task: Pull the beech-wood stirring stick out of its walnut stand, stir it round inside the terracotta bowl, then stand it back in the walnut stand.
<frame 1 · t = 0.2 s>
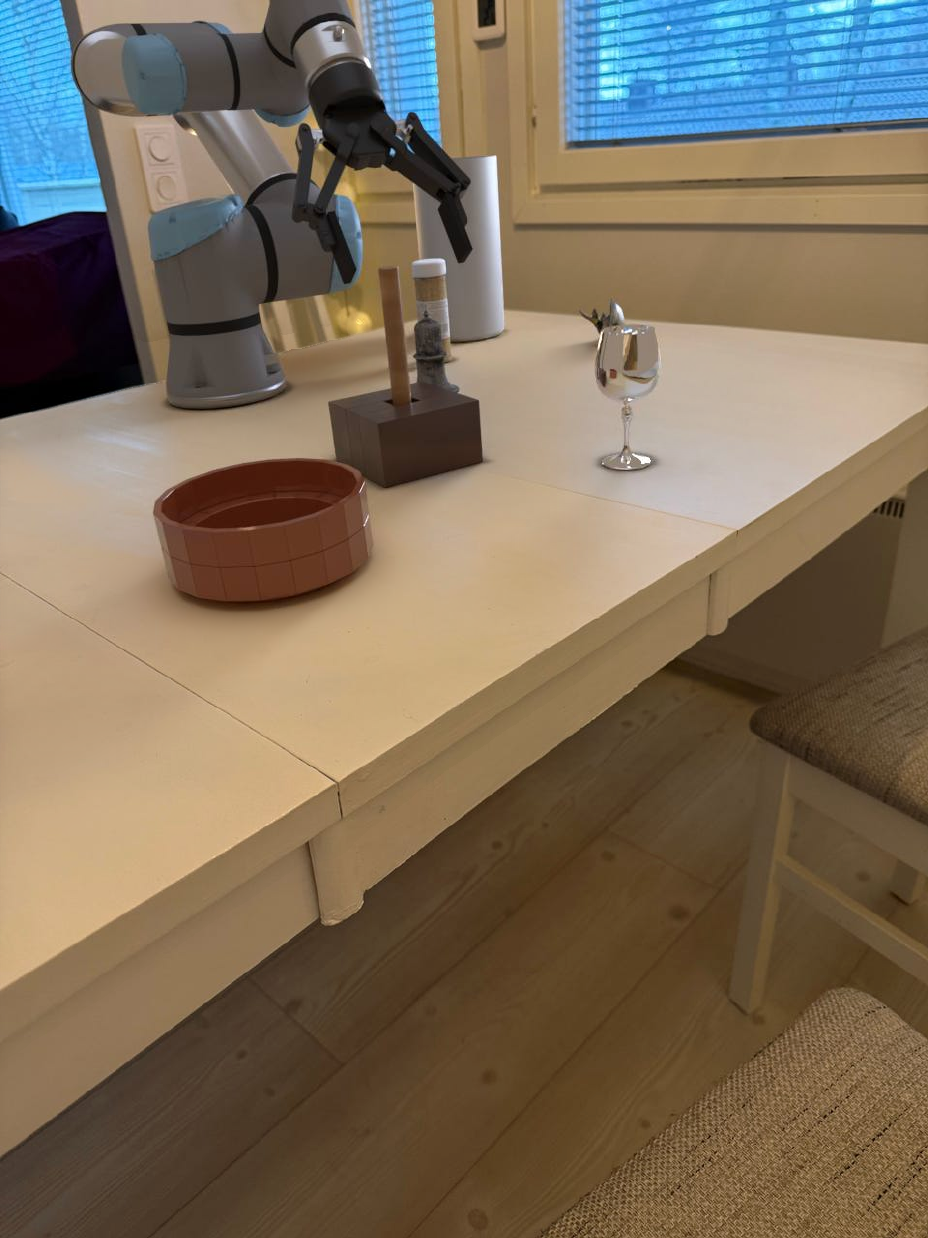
hand: (409, 266, 96), 16 cm above the table, tool tilted 35°, fingers open, 13 cm apart
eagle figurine: (612, 345, 131), on the table
cylinder vase: (465, 335, 145), on the table
stick stand: (408, 461, 90), on the table
bowl: (274, 565, 70), on the table
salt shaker: (435, 423, 102), on the table
sprinkles bottle: (436, 362, 129), on the table
stirring stick: (398, 368, 86), in the stick stand
wineglass: (626, 464, 85), on the table
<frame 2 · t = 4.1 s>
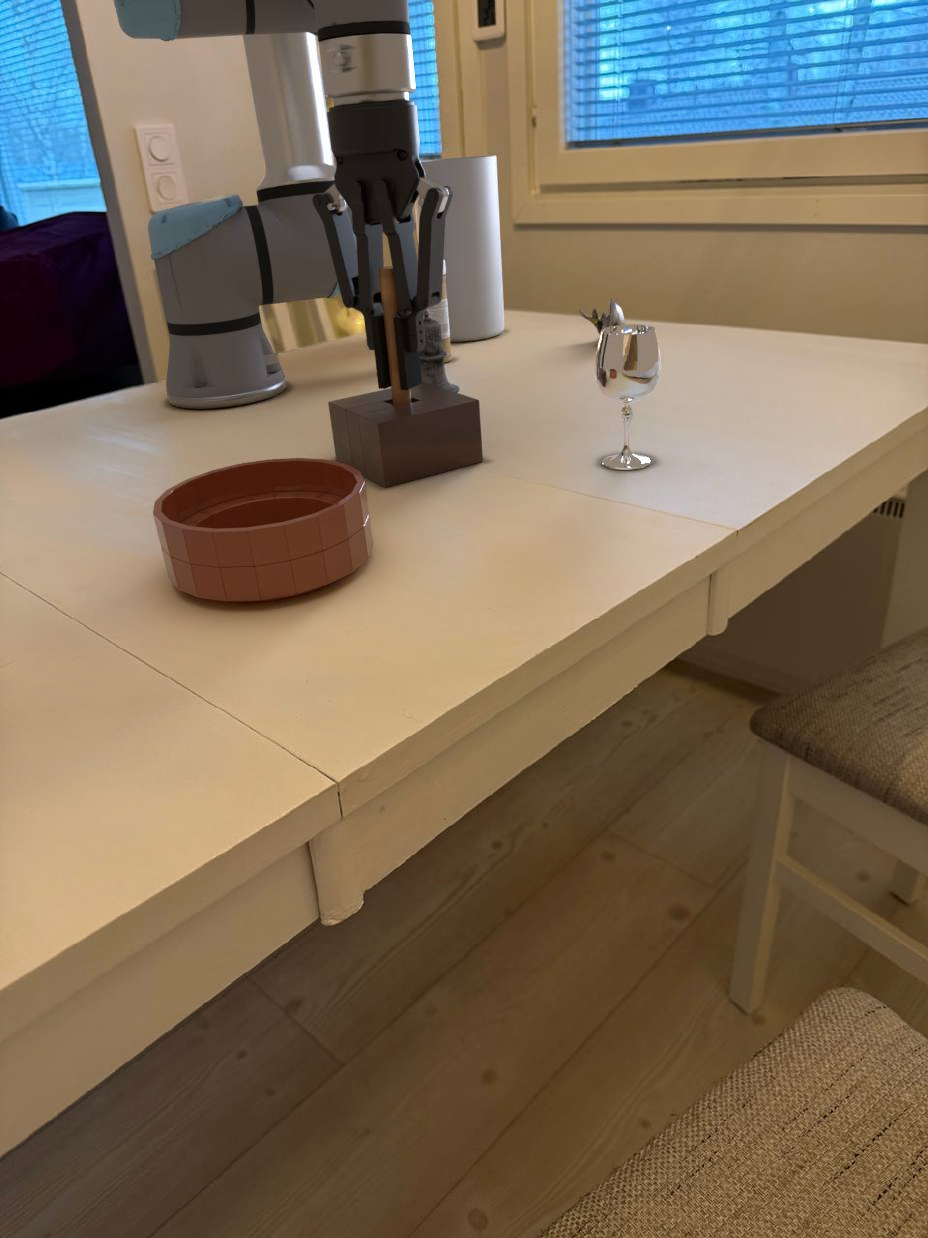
hand: (400, 385, 87), 7 cm above the table, tool pointing down, fingers closed on stirring stick, 2 cm apart
stirring stick: (398, 368, 86), in the stick stand, touching gripper
everything else where it was.
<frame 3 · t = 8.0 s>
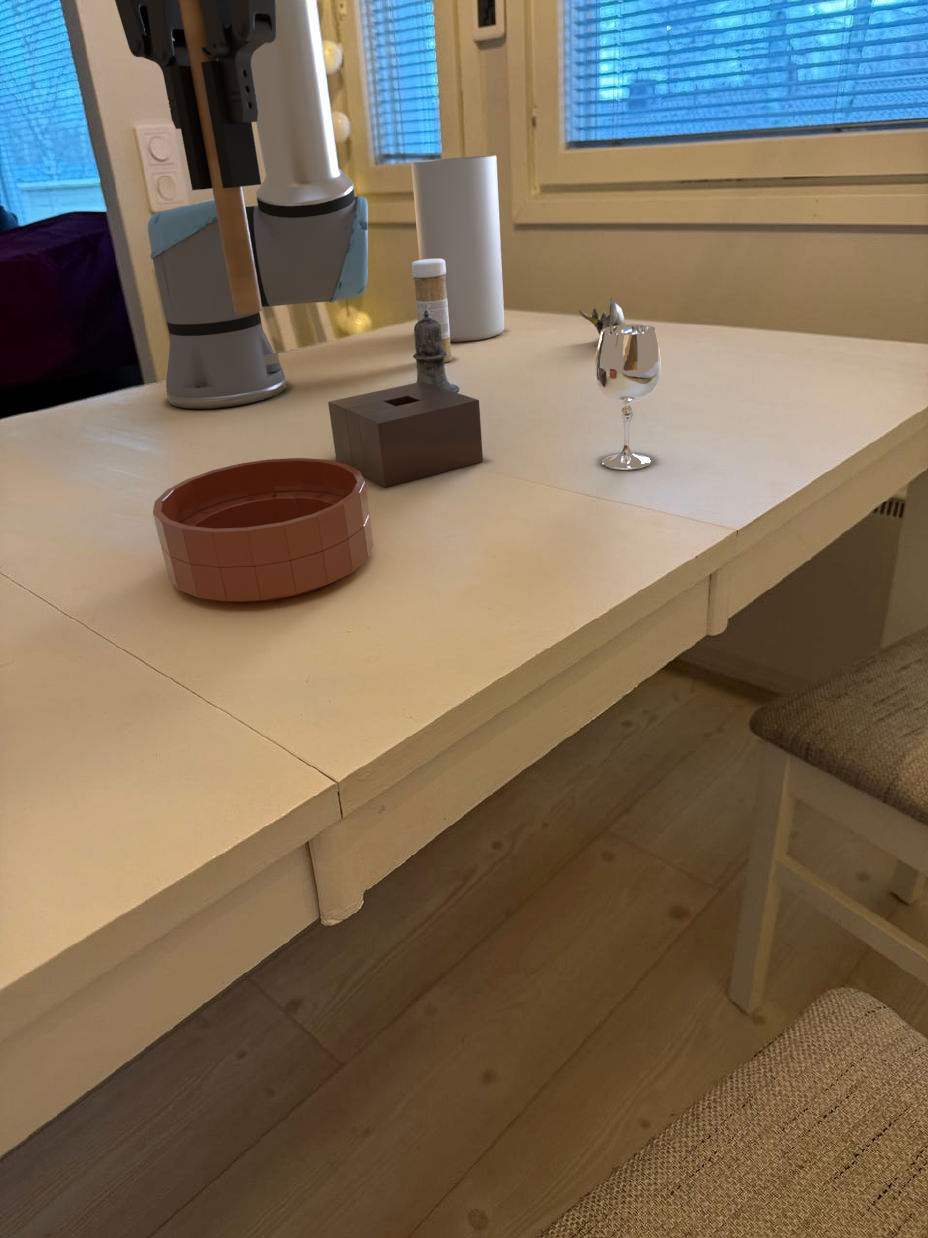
hand: (226, 186, 56), 26 cm above the table, tool pointing down, fingers closed on stirring stick, 2 cm apart
stirring stick: (222, 158, 56), point 28 cm above the table, touching gripper
everything else where it was.
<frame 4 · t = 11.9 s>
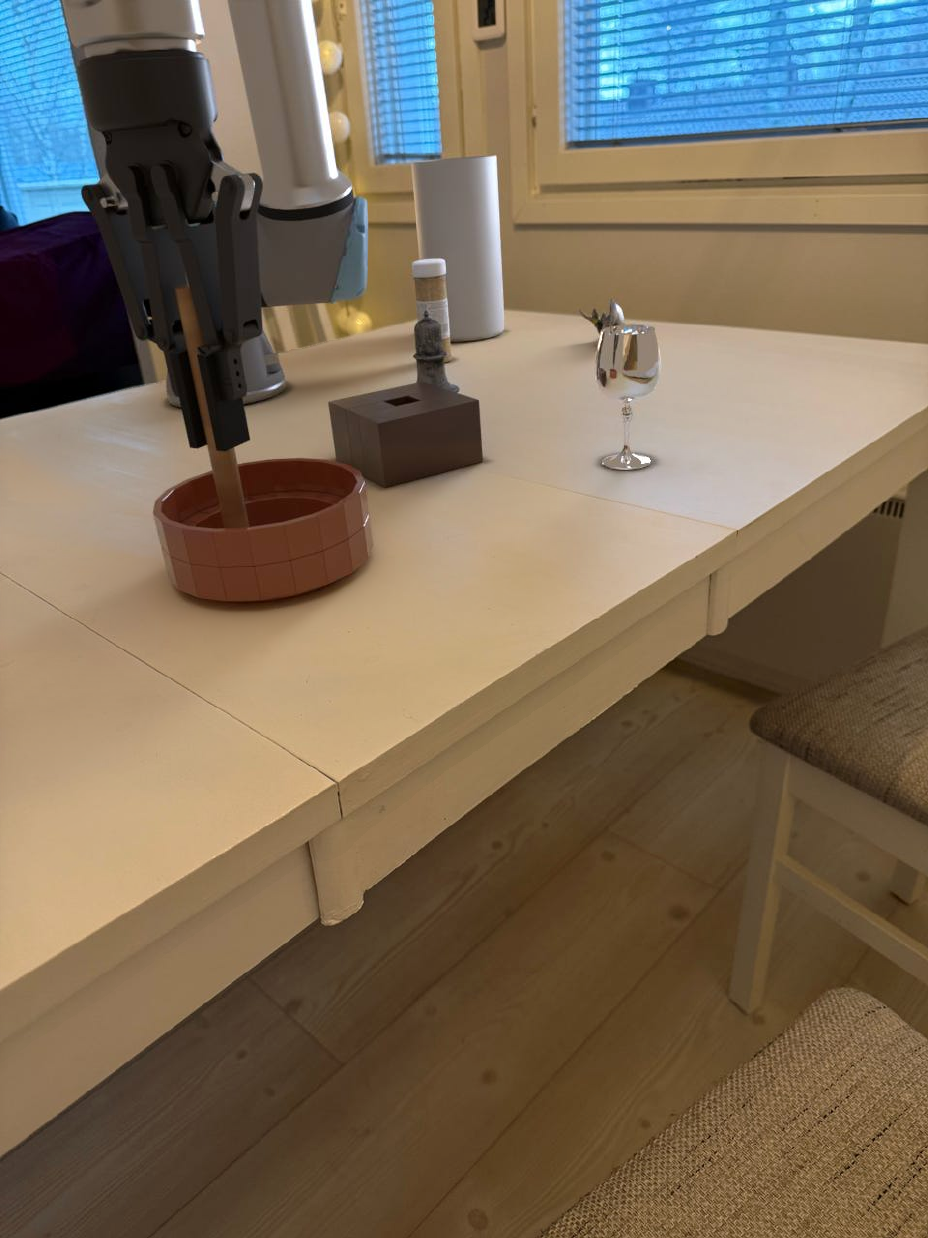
hand: (220, 443, 64), 10 cm above the table, tool pointing down, fingers closed on stirring stick, 2 cm apart
stirring stick: (215, 421, 64), point 12 cm above the table, touching gripper
everything else where it was.
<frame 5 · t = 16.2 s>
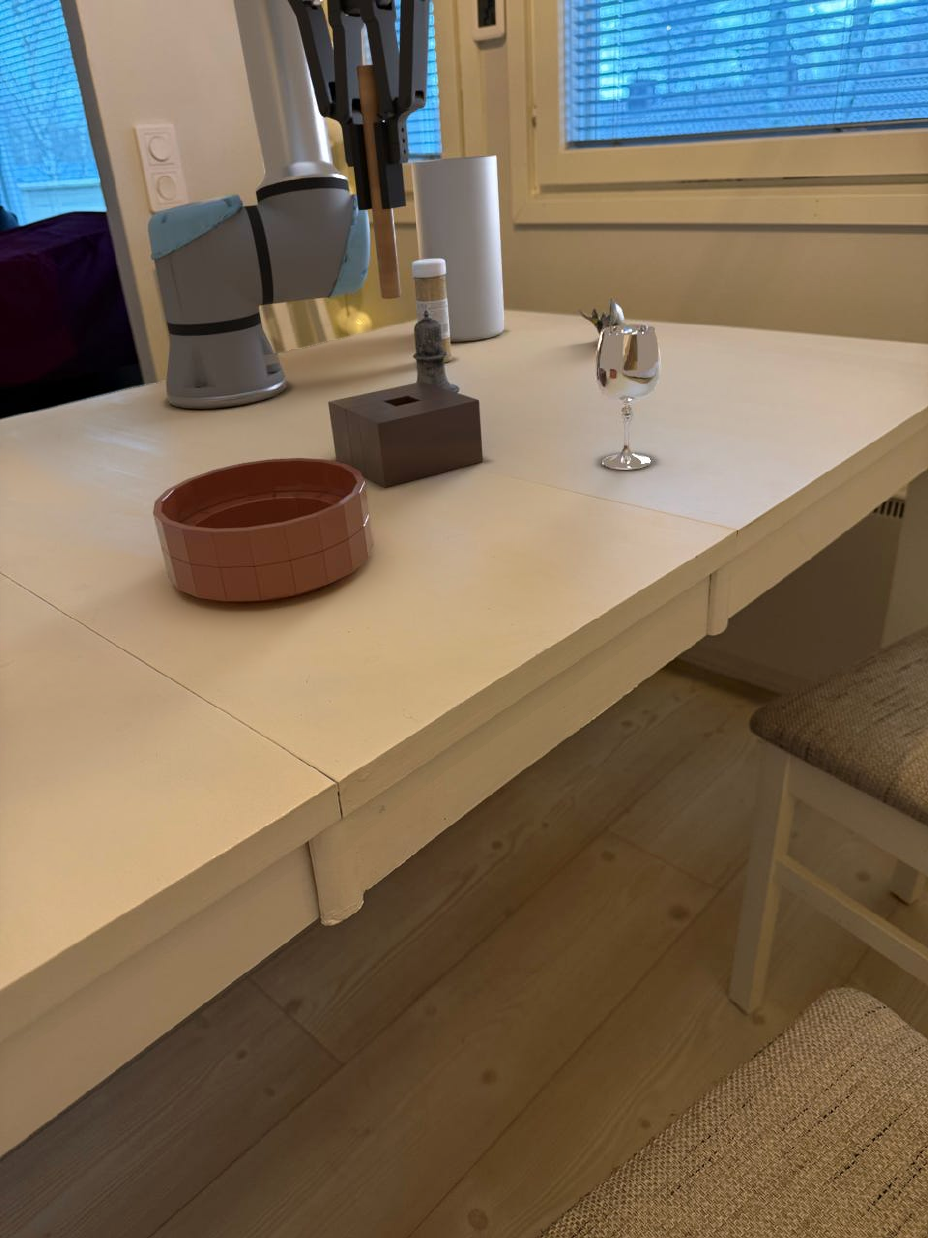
hand: (382, 207, 79), 23 cm above the table, tool pointing down, fingers closed on stirring stick, 2 cm apart
stirring stick: (380, 187, 78), point 24 cm above the table, touching gripper
everything else where it was.
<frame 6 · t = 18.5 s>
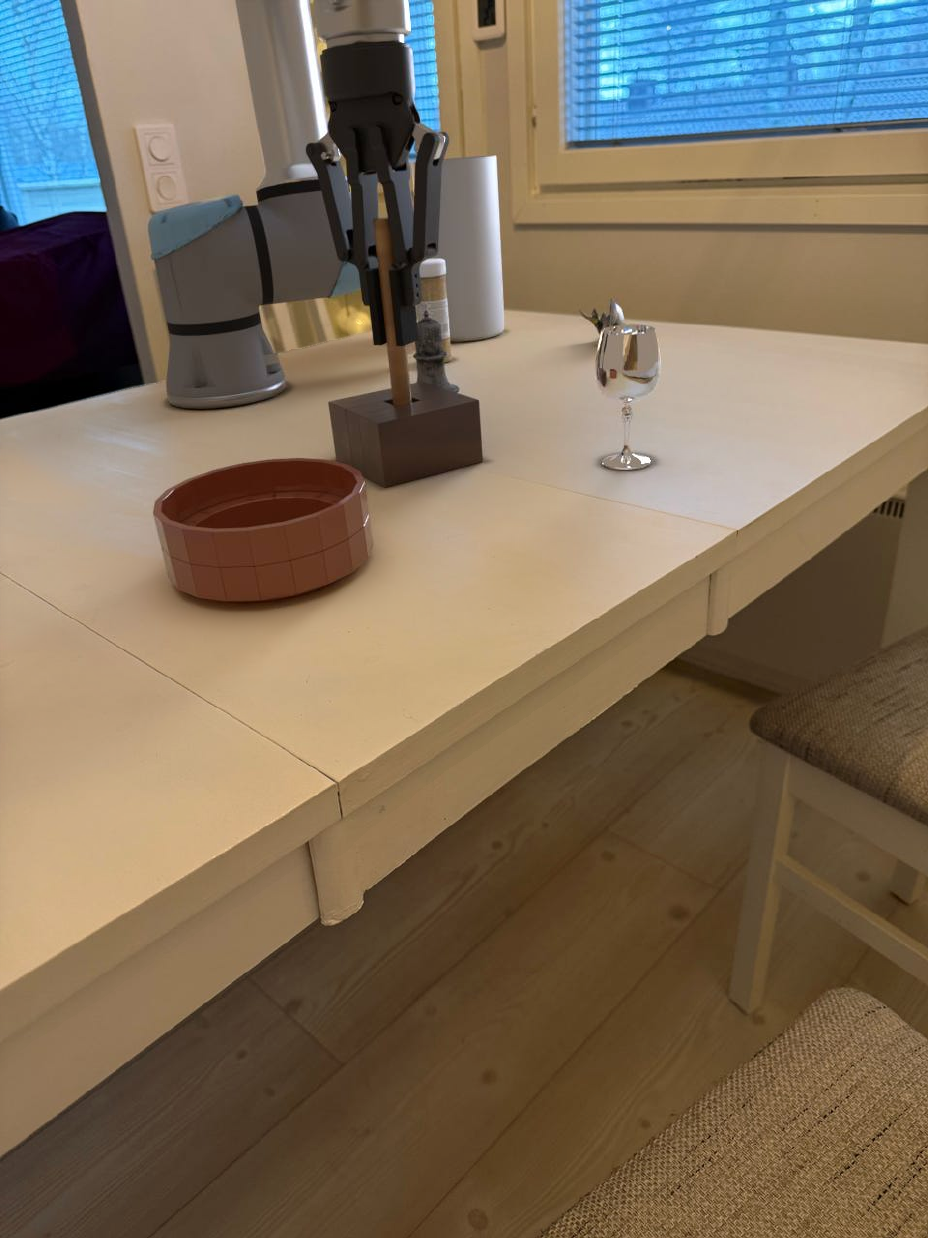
hand: (396, 342, 85), 11 cm above the table, tool pointing down, fingers closed on stirring stick, 2 cm apart
stirring stick: (394, 324, 84), point 13 cm above the table, touching gripper
everything else where it was.
when the fingers open (7 cm above the table, at t = 19.7 s): stirring stick stays where it is, resting in stick stand.
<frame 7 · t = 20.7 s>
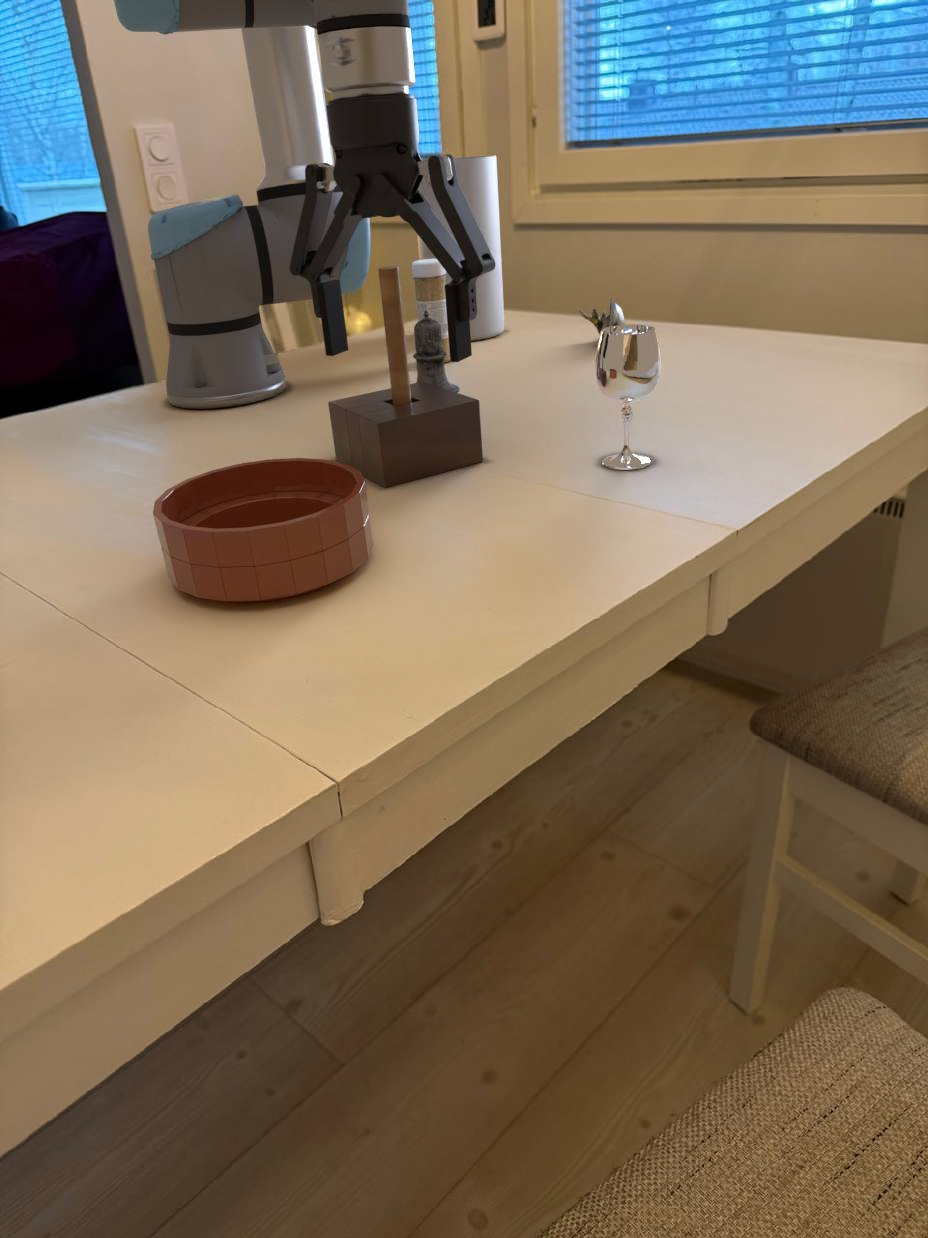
hand: (397, 356, 85), 10 cm above the table, tool pointing down, fingers open, 13 cm apart
stirring stick: (398, 369, 86), in the stick stand
everything else where it was.
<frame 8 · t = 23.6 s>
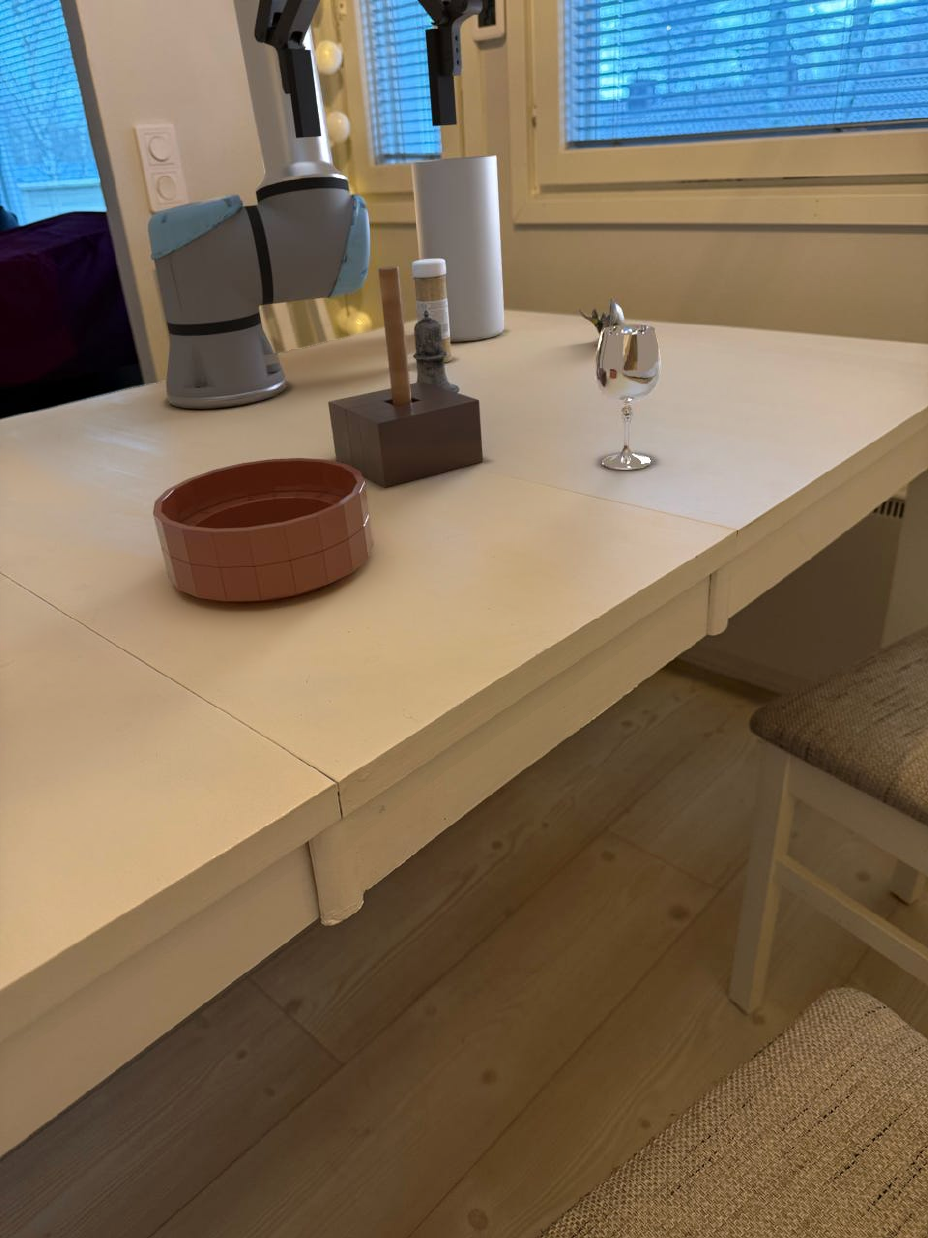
hand: (374, 131, 77), 29 cm above the table, tool pointing down, fingers open, 13 cm apart
nothing on the table moved.
at the end: stirring stick 0.1 cm off-centre in the stick stand, point 9.0 cm above the stick stand's base; stirring stick tilted 0°; stirring stick touching table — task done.
